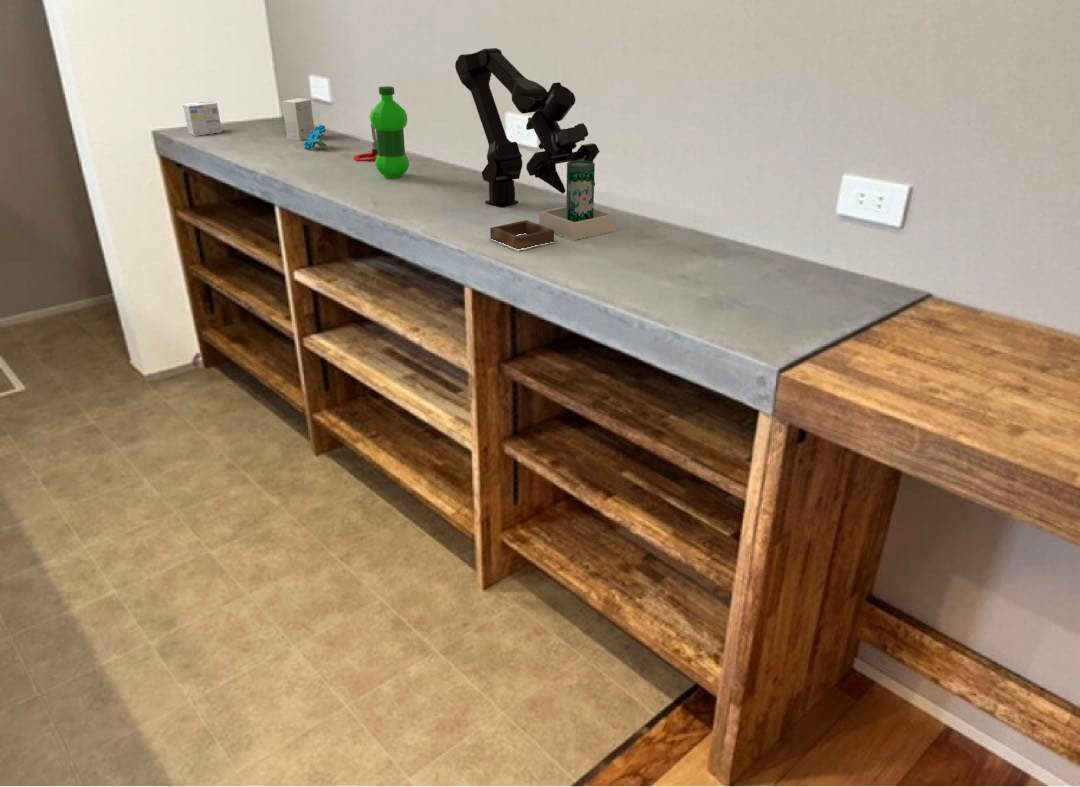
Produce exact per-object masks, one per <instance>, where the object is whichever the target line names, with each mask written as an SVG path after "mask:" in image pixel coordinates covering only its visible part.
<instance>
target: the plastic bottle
mask: <svg viewBox="0 0 1080 787" xmlns="http://www.w3.org/2000/svg"><path fill="white" fill-rule="evenodd" d="M378 94H379V95H380V97H381V100H380V101H379V102H378V103H377V104H376V105H375V106H374V107H373V108H372V109H371V110H370V114H369V118H370V125H371V124H372V126H373V127H374V128H375V132H376V140H377V150H378V155H377V157H376V160H375V161H374V162H375V163H374V164H375V165H374V166H375V167H376V170H377V171H378V172H379V173H380V174H381V175H382V176H383V177H385V179H398V178H402V177H403V175H405V173H406V172H407V171H408V169H409V167H410V161H409V158H408V156H407V154H406V149H405V147H406V146H405V134H404V129H405V127H406V126H407V125H408V114H407V112H406V110H405V109H404V108H403V107H402V106H401V105H400V104H399V103H397V102H396V101H395V100H394V98H393V97H394V95H395V87H394V86H387V85H385V86H380V87H379V86H378Z"/></svg>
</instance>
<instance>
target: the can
mask: <svg viewBox="0 0 1080 787" xmlns="http://www.w3.org/2000/svg"><path fill="white" fill-rule="evenodd" d="M595 165H596V163H595V162H594V161H593V162H591V161H586V160H584V161H582V160H575V161H570V162H566V205H565V206H566V220H569V221H572V222H578V221H583V220H587V219H591V218H593V207H594V204H595V203H594V201H595V200H594V199H595V186H594V180H595ZM594 208H595V207H594Z"/></svg>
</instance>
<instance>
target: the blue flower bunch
mask: <svg viewBox="0 0 1080 787" xmlns="http://www.w3.org/2000/svg"><path fill="white" fill-rule="evenodd" d="M325 132H326V126H325V125H324V124H319V125H318V126H314V131H311V132H310V137H309V136H307V137H306V139H305V141H304V143H303V145H304V146H303V147H304V149H305V150H308V151H309V150H311V149H312V148H315V146H316V145H318V146H319V147H320V148H321V147H322V148H323V149H324V150H326V151H328V147H327V146H328V145H327V144H326V143H325V142H323V141H322V139H323V138H324V136H325V134H324V133H325Z"/></svg>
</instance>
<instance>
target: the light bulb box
mask: <svg viewBox="0 0 1080 787" xmlns="http://www.w3.org/2000/svg"><path fill="white" fill-rule="evenodd" d="M182 107H183V113H184V117H185V122H186V127H187V133H188V135H190V134H191V135H190V136H192V135H193V136H192V137H197V136H196V135H201V136H207V135H206V134H209V135H215V134H214V133H217V134H222V133H223V128H222V125H221V120H220V119H221V118H220V113H219V112H220V111H219V107H218V103H217V102H215V101H212V100H207V101H198V102H196V101H195V102H188V103H182ZM221 132H222V133H221Z"/></svg>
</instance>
